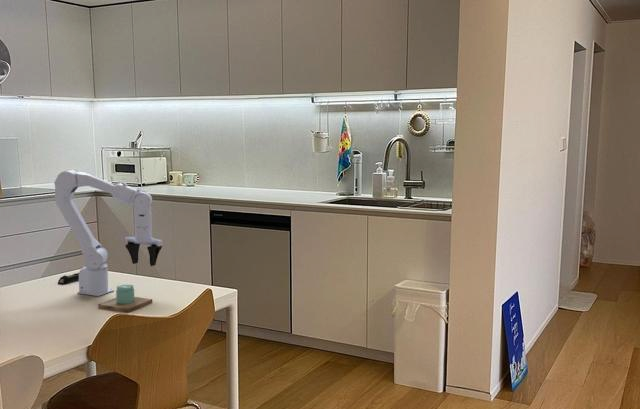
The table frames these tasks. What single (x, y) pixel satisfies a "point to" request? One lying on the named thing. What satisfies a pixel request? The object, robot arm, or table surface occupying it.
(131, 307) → the post board
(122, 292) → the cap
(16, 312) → the table surface
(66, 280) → the electric trimmer
